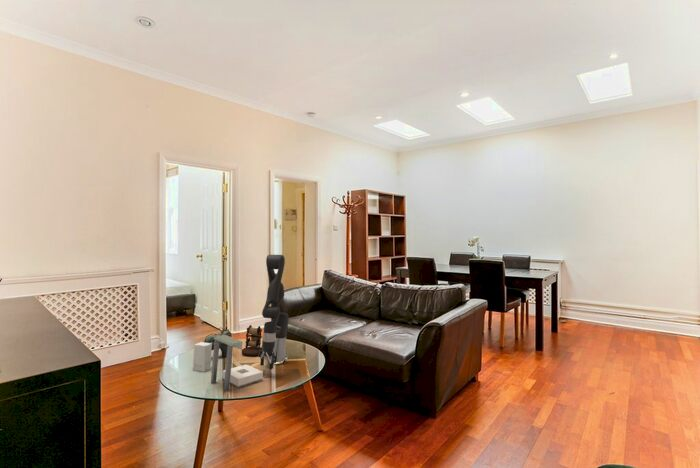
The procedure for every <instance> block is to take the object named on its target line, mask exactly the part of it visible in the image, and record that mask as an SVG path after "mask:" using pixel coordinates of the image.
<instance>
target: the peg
mask: <svg viewBox="0 0 700 468" xmlns="http://www.w3.org/2000/svg"><path fill="white" fill-rule="evenodd" d="M269 366H270V361H269V360H268V357H267V356H264V365H263V369H262V370H263V371H262V372H263V376H269V375H270V374H271V369H269ZM263 376H262V377H263ZM270 376H271V375H270ZM270 376H269V377H270Z"/></svg>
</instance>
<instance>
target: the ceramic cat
mask: <svg viewBox="0 0 700 468" xmlns="http://www.w3.org/2000/svg"><path fill="white" fill-rule="evenodd" d="M220 329H221V330H220ZM217 330H218V331H219V330H220V333H219V334H218V333H217V334H216V333H214V334H213V333H211V334H208V335H206V336H205V338H204V341H203V342H205V343H212V351H214V341H215V339H214V337H215V336H221V335H227V336H230V337H232V332H231V331H230V329H227V330H224V328H223V327H219V328H217ZM232 338H233V337H232ZM227 347H228V345H227V344H225V343H222V342H220V344H219V350H220V352H221V357H223V358H227Z"/></svg>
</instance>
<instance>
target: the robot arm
mask: <svg viewBox="0 0 700 468" xmlns="http://www.w3.org/2000/svg"><path fill="white" fill-rule="evenodd" d="M265 259H266V260H265V262H266V265H265V266H266V271H267V276H268V277H267V278H268V285H269V286H268V288H267V291H266V292H267V293H266V295H267V296H266V301H265V304H264V306H263V309H262V312H261V314H262V317H263V318H264V319H270V321H266V322H264V325H263V333H262V339H261V340H262V341H261V344H262V345H261V346H260V348H259V354H258V355H257V356H258V358H259V359H260V365H259V366H261V367H262V366H264V356H267V357H268V360H269V361H270V366H269V369H270V370H273V369H274V363H276V362H281V361H283V360H284V359H285V358H287V347H286V345H287V344H286V343H287V334H288V326H289V317H290V316H289V314H288V313H287V312H281V309H280V307H279V306H280V305H281V302H282V301H283V300H284V297H285V287H284V284H283V283H282V278H283V275H284V270H285V262H286V260H285V256H284V254H268V255H267V256H266V258H265ZM275 270H277V272H276V273H275ZM277 327H280V329H279V330H276V329H277Z"/></svg>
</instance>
